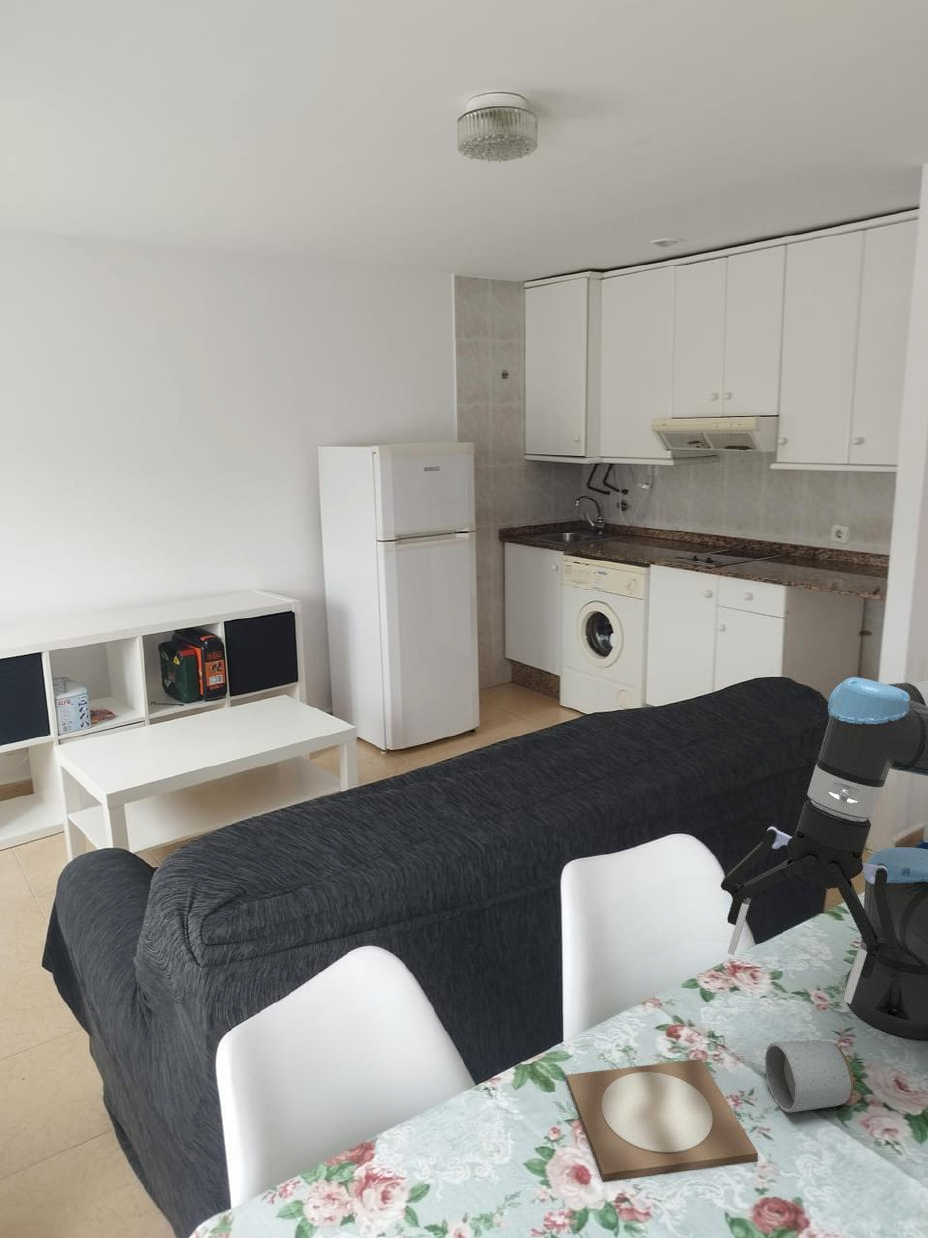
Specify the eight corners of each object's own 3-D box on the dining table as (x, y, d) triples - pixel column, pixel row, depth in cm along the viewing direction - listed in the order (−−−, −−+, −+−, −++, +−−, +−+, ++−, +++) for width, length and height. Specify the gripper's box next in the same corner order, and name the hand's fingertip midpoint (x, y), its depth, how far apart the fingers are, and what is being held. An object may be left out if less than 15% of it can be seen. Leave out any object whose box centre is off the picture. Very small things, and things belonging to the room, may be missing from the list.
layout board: (701, 1065, 116) (701, 1056, 116) (757, 1161, 101) (758, 1151, 100) (566, 1081, 114) (566, 1072, 113) (603, 1182, 98) (603, 1171, 98)
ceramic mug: (856, 1117, 107) (859, 1059, 105) (793, 1128, 105) (796, 1069, 104) (807, 1060, 117) (809, 1007, 116) (749, 1069, 116) (751, 1015, 114)
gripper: (727, 779, 106) (681, 942, 109) (958, 857, 96) (900, 1034, 99) (737, 767, 113) (692, 921, 116) (953, 839, 103) (898, 1005, 106)
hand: (788, 973), depth 107 cm, fingers open, 13 cm apart
